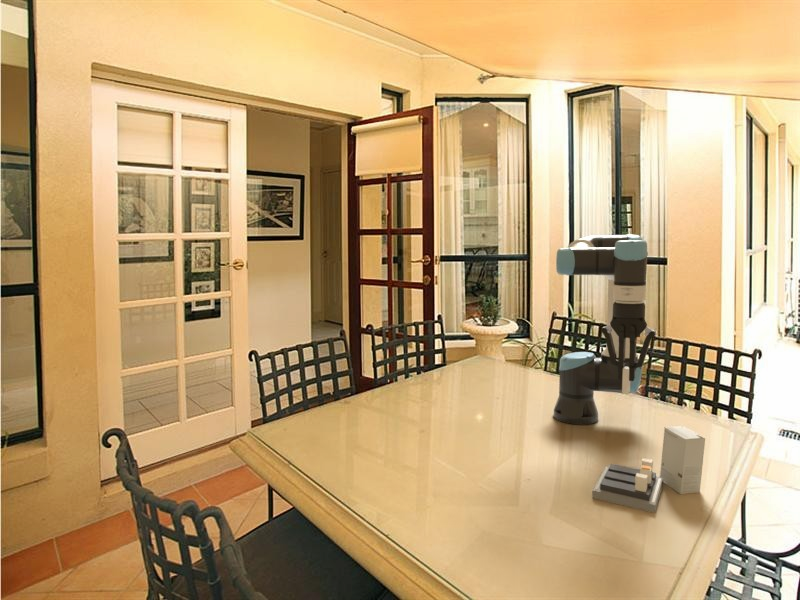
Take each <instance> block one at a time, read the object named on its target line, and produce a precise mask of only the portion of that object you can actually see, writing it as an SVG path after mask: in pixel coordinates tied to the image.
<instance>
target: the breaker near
mask: <svg viewBox="0 0 800 600" xmlns="http://www.w3.org/2000/svg"><path fill="white" fill-rule="evenodd" d="M647 478H648V475H644V474H639V473H637V474H636V476H635V490H637V491H642V492H646V491H647Z"/></svg>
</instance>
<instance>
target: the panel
mask: <svg viewBox="0 0 800 600" xmlns="http://www.w3.org/2000/svg"><path fill="white" fill-rule="evenodd" d="M637 473H639V474H640V469H639V468H634V467H628V466H625V465H624V466H623V465H620V464H615V463H610V465H609V466H607V465H605V467H604V469H603V471H602V472H601V474H600V476H599V478H598V479H597V482H596V483H595V486H594V487H593V489H592V499H595V500H599V501H603V502H608V503H612V504H616V505H619V506H623V507H624V506H625V507H628V508H633V509H636V510H640V511H645V512H648V513H654V514H656V512H657V511H656V510H657V506H658V503H659V501H660V496H661V492H662V489H663V484H664V482H663V478H662V477H660V476H657V472H654V471H652V478H651V484H647V491H646V492H642V491H637V490H635V476H636V474H637Z"/></svg>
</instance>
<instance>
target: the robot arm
mask: <svg viewBox="0 0 800 600" xmlns="http://www.w3.org/2000/svg"><path fill="white" fill-rule="evenodd" d="M557 249H558V250H557V251H556V265H555V266H556V273H557V274H558V275H564V276H604V277H605V278H606V279H607V302H606V303H607V307H606V309H607V310H606V325H605V326H603V327H602V328H601V329H600V331H601V333H602V335H603V336H604V339H605V343H606V344H605V345H606V347H605V349H603V350H602V352H601V353H600V355H601V356H600V357H596V355H595V353H593V352H592V351H591V352H590V351H589V352H588V351H575V352H569V353H567V354H564V355H562V356H561V357H560V358H559V368H558V371H559V384H558V385H559V386H558V398H557V400H556V403H555V404H554V408H553V417H554V418H555V419H556V420H557V419H558V421H559V420H560V421H559V422H562V423H565V422H566V424H570V423H571V425H582V426H584V425H591V424H595V423H597V422H598V421H599V411H598V408H597V405H596V402H595V399H594V392H606V393H614V394H615V393H616V394H617V393H618V394H621V395H623V394H624V395H629V394H635V393H637V391H638V390H639V388H640V384H641V381H642V380H641V379H642V373H643V365H644V363H645V361H646V360H645V359H646V357H647V353H648V351H649V347H650V345H651V341H652V339H653V338H654V336H655V335H656V334H657V330H656V329H652V328H651V327H649V326H648V324H647V321H646V319H645V317H646V304H645V301H646V297H647V266H648V264H647V263H648V256H649V252H648V243H647V241H646V240H644V239H643V238H642V237H641V236H640V235H639V234H629V233H627V234H602V235H598V234H596V235H595V234H594V235H589V236H583V237H581V238H578V239H575V240H573V241H572V242H570V243H569V244H568V246H567V247H563V248H562V247H561V248H560V247H559V248H557ZM643 332H644V336H645V338H644V341H643V343H642V347H641V350H640V353H639V355H638V353H637V341H638V340H637V339H638V337H639V336H640V335H642V333H643Z"/></svg>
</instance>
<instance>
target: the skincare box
mask: <svg viewBox="0 0 800 600" xmlns="http://www.w3.org/2000/svg"><path fill="white" fill-rule="evenodd" d="M663 431H664V432H663V442H662V453H661V461H660V463H661V464H660V471H659V472H660V475H659V477H662V478H663V484H665V485H667V486H669V487H670V488H671V489H672V490H674V491H676V492H677V493H678V494H680V495H685V494H694V493H695V494H696V493H697V494H698V493H700V492H701V483H702V475H703V474H702V473H703V465H704V453H705V447H706V446H705V445H706V438H705V437H704V436H703V435H700V434H698V433H697V432H696V431H694V430H692V429H689V428H687V427H685V426H684V425H677V426H676V425H675V426H674V425H673V426H664V430H663Z"/></svg>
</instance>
